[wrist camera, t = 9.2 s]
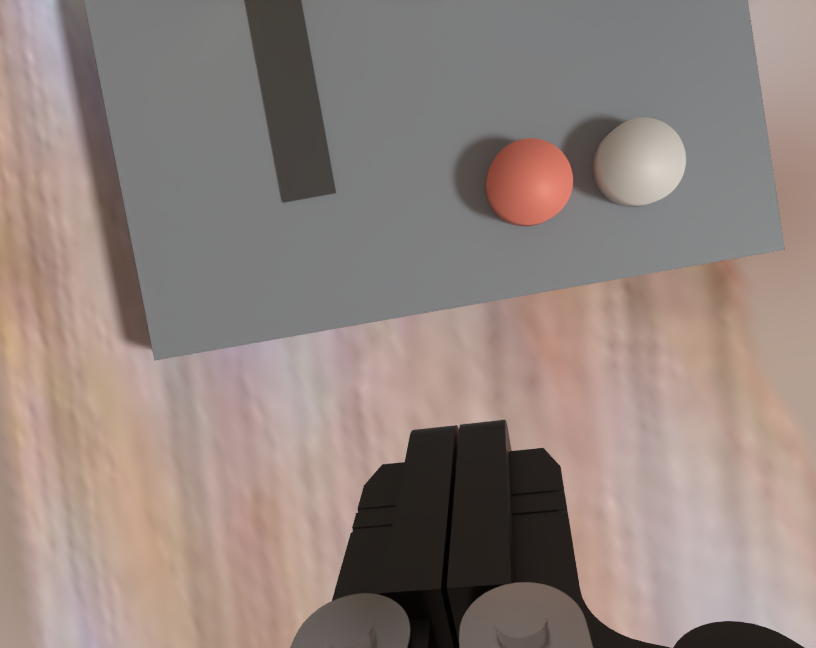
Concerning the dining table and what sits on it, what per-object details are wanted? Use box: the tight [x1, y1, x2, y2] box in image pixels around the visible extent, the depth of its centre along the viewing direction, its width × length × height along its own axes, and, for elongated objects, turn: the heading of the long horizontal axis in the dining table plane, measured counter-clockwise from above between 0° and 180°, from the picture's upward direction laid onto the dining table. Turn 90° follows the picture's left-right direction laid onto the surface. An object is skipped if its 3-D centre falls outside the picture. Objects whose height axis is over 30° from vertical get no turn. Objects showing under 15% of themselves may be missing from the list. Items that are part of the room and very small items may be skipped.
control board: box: [84, 0, 785, 360], centre depth 26 cm, size 24×20×3 cm
